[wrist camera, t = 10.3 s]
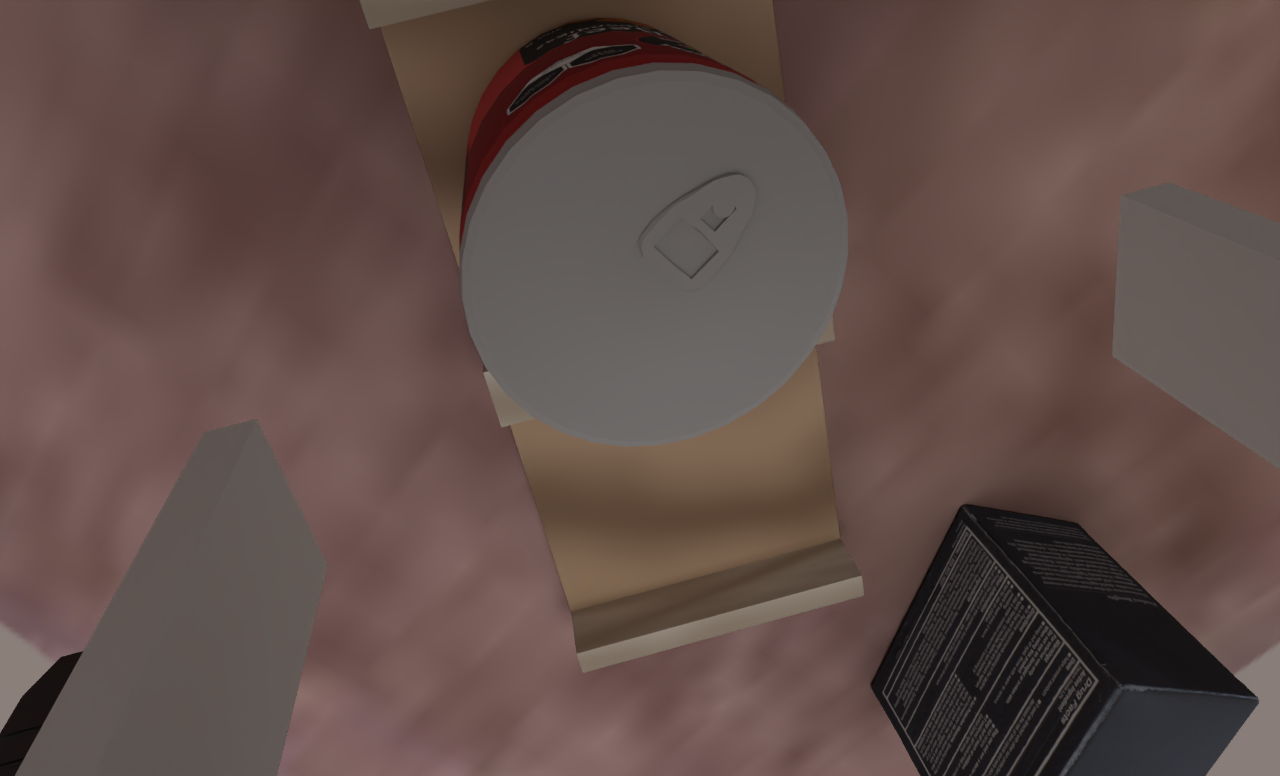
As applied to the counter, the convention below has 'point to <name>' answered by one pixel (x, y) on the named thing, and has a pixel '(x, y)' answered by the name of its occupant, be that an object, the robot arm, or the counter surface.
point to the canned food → (643, 235)
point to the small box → (1050, 663)
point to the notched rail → (659, 474)
